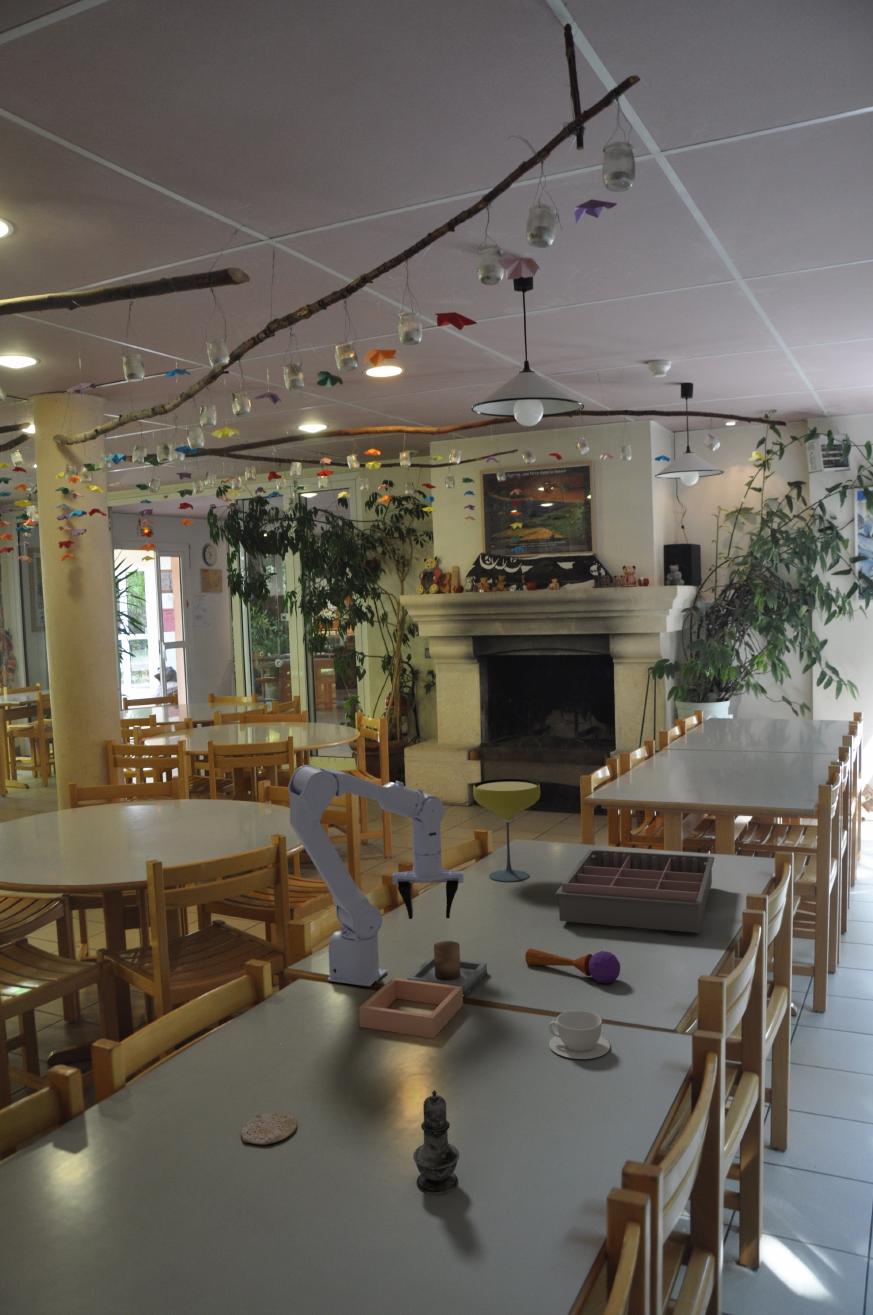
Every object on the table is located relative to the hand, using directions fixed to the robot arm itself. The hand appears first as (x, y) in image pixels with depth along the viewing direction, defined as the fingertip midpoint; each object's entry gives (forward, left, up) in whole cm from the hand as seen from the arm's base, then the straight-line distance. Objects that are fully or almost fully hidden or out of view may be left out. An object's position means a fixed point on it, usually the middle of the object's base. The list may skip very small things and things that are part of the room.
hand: (429, 917), depth 195 cm
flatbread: (+3, -66, -10) cm, 67 cm away
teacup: (+38, -27, -10) cm, 48 cm away
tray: (+7, -8, -9) cm, 14 cm away
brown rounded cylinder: (+7, -8, -8) cm, 14 cm away
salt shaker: (+30, -69, -10) cm, 76 cm away
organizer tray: (+34, +49, -10) cm, 60 cm away
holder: (+7, -25, -9) cm, 28 cm away
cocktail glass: (-4, +64, -10) cm, 65 cm away
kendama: (+29, +3, -10) cm, 31 cm away
